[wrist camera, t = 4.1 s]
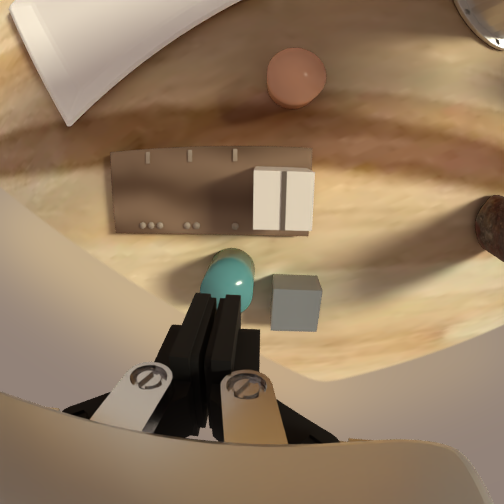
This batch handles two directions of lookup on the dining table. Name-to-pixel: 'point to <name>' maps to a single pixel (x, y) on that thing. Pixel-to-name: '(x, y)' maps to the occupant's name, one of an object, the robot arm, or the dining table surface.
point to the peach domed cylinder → (295, 77)
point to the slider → (283, 198)
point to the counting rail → (194, 188)
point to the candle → (491, 226)
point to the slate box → (295, 302)
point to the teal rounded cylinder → (230, 276)
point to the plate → (99, 41)
